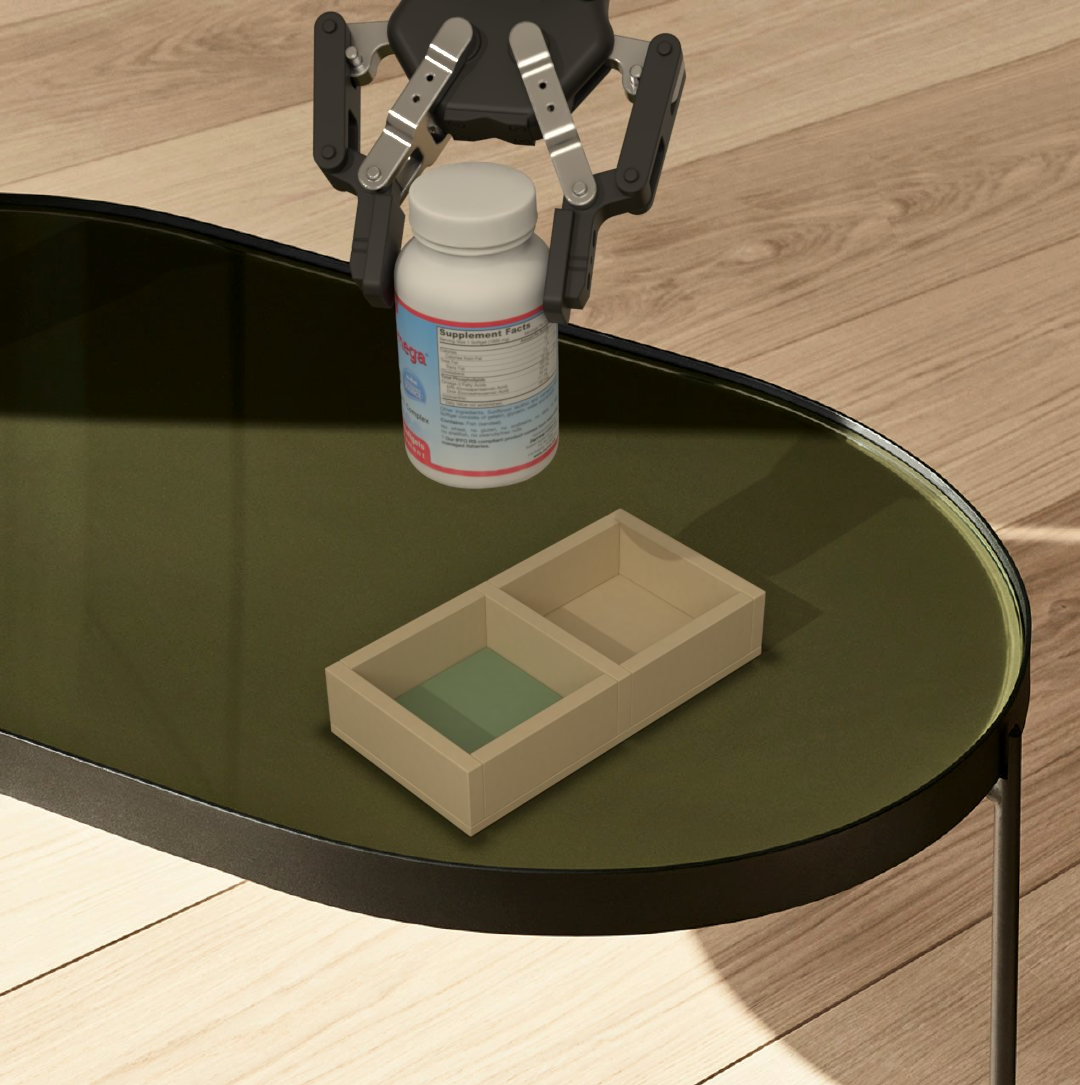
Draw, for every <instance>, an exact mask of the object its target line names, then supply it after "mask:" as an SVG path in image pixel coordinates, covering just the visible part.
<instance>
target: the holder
mask: <svg viewBox="0 0 1080 1085" xmlns="http://www.w3.org/2000/svg"><path fill="white" fill-rule="evenodd" d="M766 596H767V595H766V591H765V590H764V589H762V588H760V587H758V586H757V585H755V584H753V583H751V582H750V581H748V580H746V579H745V578H743V577H741V576H740V575H738V574H736V573H734V572H733V571H731V570H728V568H725V567H723V566H722V565H720V564H719V563H716V562H715V561H713V560H711V559H710V558H708V557H706V556H704V555H703V554H701V553H699V552H698V551H696V550H695V549H692V548H691V547H689V546H687V545H685V544H683V543H682V542H680V541H678V540H677V539H675V538H673V537H671V536H670V535H668V534H666V533H665V532H663V531H661V530H659V529H658V528H656V527H654V526H652V525H651V524H648V523H647V522H645V521H643V520H641V519H640V518H638V517H637V516H635V515H633V514H631V513H630V512H629V511H626V510H624V509H623V508H618V509H616V510H614V511H612V512H611V513H609V514H608V515H605V516H602V517H601V518H599V519H598V520H596V521H594V522H592V523H590V524H588V525H586V526H585V527H582V528H581V529H579V530H577V531H575V532H574V533H572V534H570V535H568V536H566V537H565V538H563V539H561V540H559V541H557V542H555V543H553V544H552V545H550V546H548V547H546V548H544V549H542V550H540V551H538V552H537V553H535V554H532V555H531V556H529V557H528V558H526V559H523V560H522V561H520V562H518V563H516V564H514V565H512V566H511V567H509V568H507V569H506V570H503V571H502V572H500V573H498V574H496V575H493V576H492V577H491V578H489V579H487V580H485V581H483V582H481V583H480V584H477V585H476V586H474V587H472V588H470V589H468V590H466V591H464V592H463V593H461V594H459V595H457V596H455V597H453V598H451V599H449V600H448V601H446V602H444V603H442V604H440V605H438V606H437V607H435V608H433V609H432V610H429V611H428V612H426V613H424V614H422V615H420V616H418V617H416V618H415V619H413V620H411V621H409V622H406V623H405V624H404V625H401V626H400V627H398V628H396V629H394V630H392V631H391V632H389V633H386V634H385V635H384V636H382V637H380V638H378V639H376V640H374V641H372V642H370V643H369V644H366V645H365V646H363V647H362V648H359V649H357V650H356V651H354V652H352V653H349V654H348V655H347V656H345V657H343V658H341V659H339V660H338V661H336V662H334V663H332V664H331V665H329V666H326V667H325V668H324V672H325V683H326V693H327V702H328V713H329V721H330V731H331V733H332V734H334V735H335V736H337V737H338V738H339V739H340V740H341V741H343V742H344V743H346V744H347V745H349V746H350V747H351V748H352V749H354V750H355V751H356V752H358V753H359V754H360V755H362V756H363V757H364V758H365V759H367V760H368V761H369V762H371V763H372V764H374V765H375V766H376V767H378V768H379V769H380V770H381V771H383V772H384V773H385V774H386V775H387V776H389V777H391V778H392V779H393V780H395V781H396V782H397V783H398V784H400V785H401V786H403V787H405V789H407V790H408V791H410V793H412V794H413V795H415V796H416V797H417V798H419V799H420V800H421V801H423V802H424V803H425V804H427V805H428V806H429V807H430V808H432V809H433V810H434V811H436V812H437V813H438V814H440V816H442V817H443V818H445V819H446V820H448V821H449V822H450V823H452V824H453V825H454V826H455V827H457V828H458V829H459V830H461V831H462V832H464V833H465V834H466V835H468V836H469V837H473V836H475V835H476V834H477V833H479V832H481V831H482V830H484V829H485V828H487V827H489V826H490V825H492V824H493V823H495V822H496V821H498V820H500V819H501V818H503V817H505V816H507V815H508V814H509V813H511V812H513V811H514V810H516V809H517V808H519V807H520V806H522V805H525V803H527V802H529V801H530V800H532V799H533V798H535V797H536V796H538V795H539V794H541V793H543V792H544V791H546V790H548V789H549V788H551V787H552V786H555V785H556V784H557V783H558V782H560V781H561V780H564V779H565V778H566V777H568V776H570V775H572V774H573V773H574V772H576V771H578V770H580V769H581V768H583V767H584V766H585V765H588V764H589V763H591V762H592V761H593V760H595V759H596V758H598V757H600V756H601V755H603V754H604V753H607V752H608V751H610V750H611V749H613V748H614V747H616V746H618V745H619V744H620V743H622V742H624V741H625V740H626V739H628V738H630V737H632V736H633V735H635V734H637V733H639V731H641V730H643V729H644V728H646V727H648V726H649V725H651V724H652V723H654V722H655V721H657V720H658V719H660V718H661V717H663V716H665V715H667V714H668V713H670V712H671V711H673V710H674V709H676V708H677V707H680V706H681V705H682V704H684V703H685V702H687V701H689V700H690V699H692V698H693V697H695V696H696V695H699V694H701V692H703V691H705V690H706V689H708V688H709V687H711V686H713V685H714V684H716V683H717V682H719V681H720V680H722V679H724V678H725V677H727V676H729V675H730V674H732V673H733V672H735V671H736V670H738V669H740V668H741V667H743V666H744V665H746V664H747V663H749V662H751V661H753V660H754V659H755V658H757V657H759V656H760V655H761V654H762V648H763V647H762V643H763V631H764V619H765V608H766Z"/></svg>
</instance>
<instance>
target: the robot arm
mask: <svg viewBox="0 0 1080 1085" xmlns="http://www.w3.org/2000/svg"><path fill="white" fill-rule="evenodd" d="M610 2H611V1H610V0H400V1H399V3H398V4H397V5H396V7H395V9H394V10H393V11H392V13H391V15H390V16H389V19H388V20H377V21H376V20H375V21H363V22H362V21H361V22H348V23H347V22H346V20H345V18H344V16H342V14H341V13H339V12H337V11H332V10H330V11H325V12H323V13H321V14H320V15H318V17H317V18H316V20H315V21H314V24H313V80H312V82H313V84H312V85H313V91H312V92H313V94H312V95H313V99H312V100H313V101H312V158H313V161H314V163H315V164H316V165H317V167H318V168H319V170H320V172H322V174H323V175H324V177H325V178H326V180H327V181H328V183H330V185H331V187H332V188H333V189H334V190H336V191H338V192H341V193H349V194H350V195H353V196H355V197H357V205H356V212H355V220H354V227H353V234H352V241H351V247H350V248H351V250H350V255H349V261H348V262H349V263H348V267H349V271H350V275H351V278H352V280H353V282H354V283H355V284H356V285H357V287H358V289H360V290H361V291H362V295H363V297H364V299H365V300H366V301H367V302H368V303H369V305H370V306H371V307H372V308H380V309H392V308H393V306H394V304H395V290H394V268H395V263H396V260H397V257H398V255H399V253H400V251H401V250H402V245H403V237H404V230H405V222H406V214H405V212H404V210H403V208H401V206H402V204H403V203H404V201H405V200H406V198H407V197H408V196H409V189H410V186H411V184H412V183H413V182H414V180H415V179H416V178H418V177H419V176H420V175H422V174H423V173H424V171H425V170H426V169H427V168H429V167H432V166H433V165H434V164H435V163H436V161H437V160H438V158H439V157H440V156H441V154H442V152H443V151H444V149H445V148H446V146H447V144H448V143H449V142H450V140H451V138H452V140H453V141H458V142H469V143H470V142H471V143H473V142H480V141H481V142H482V141H486V140H491V139H497V140H500V141H503V142H506V143H509V144H512V145H515V146H525V147H526V146H527V147H536V142H537V141H541V140H543V141H544V143H545V146H546V148H547V149H546V150H547V151H548V154H549V157H550V159H551V163H552V165H553V168H554V171H555V174H556V176H557V179H558V182H559V185H560V187H561V190H562V193H563V195H562V202H561V208H559V207H555V208H554V212H553V219H552V221H553V222H552V226H551V233H550V234H551V236H550V241H549V257H548V265H547V273H546V280H545V288H544V296H543V312H544V314H545V316H546V318H547V320H548V322H549V323H557V324H558V325H559V324H560V325H568V324H569V323H570V319H571V311H572V310H582V311H583V310H584V308H585V307H586V305H587V303H588V302H589V299H590V297H591V292H592V290H591V289H592V280H593V274H594V267H595V258H596V250H597V244H598V243H597V242H598V237H599V236H598V235H599V231H600V228H601V227H602V226H603V224H604V223H605V222H606V221H608V220H609V219H611V218H614V217H617V216H621V215H624V214H627V213H628V214H629V215H632V216H642V215H644V214H646V213H648V212H649V211H650V210H651V208H652V207H653V205H654V202H655V199H656V195H657V192H658V191H657V190H658V187H659V183H660V179H661V175H662V172H663V167H664V164H665V161H666V160H665V159H666V156H667V153H668V149H669V145H670V141H671V137H672V134H673V129H674V125H675V121H676V118H677V115H678V110H679V107H680V102H681V99H682V95H683V92H684V87H685V84H686V80H687V72H686V71H687V70H686V63H685V58H684V53H683V49H682V43H681V42H680V39H679V38H678V37H677V36H676V35H675V34H673V33H669V32H662V33H659V34H657V35H655V36H654V37H653V38H652V39H651V40H646V39H640V38H634V37H629V36H624V35H618V34H615V32H614V29H613V26H612V24H611V21H610V19H609V11H610V10H609V9H610ZM392 55H394V56H395V58H396V60H397V62H398V64H399V65H400V67H401V69H402V71H403V73H404V74H405V76H406V79H407V80H408V82H407V83H406V85H405V86H404V88H403V90H402V91H401V93H400V94H399V96H398V97H397V99H396V100H395V102H394V103H393V105H392V106H391V108H390V110H389V111H388V114H387V116H386V120H385V126H384V128H383V131H381V134H380V135H379V136H378V138H377V139H376V141H375V143H374V144H373V146H372V147H371V148H370V149H369V152H368V153H367V155H366V154H364V153H361V134H362V133H361V132H362V131H361V130H362V129H361V128H362V127H361V126H362V122H361V120H362V119H361V118H362V117H361V116H362V87H364V86H367V85H369V84H371V83H372V82H373V81H374V80H375V78H376V77H377V74H378V68H379V65H380V63H381V62H382V61H383V60H384V59H385V58H386V57H389V56H392ZM612 70H615V71H617V72H619V73H620V74H621V84H622V88H623V92H624V96H625V98H626V100H627V101H628V102H629V103H631V104H632V106H631V110H630V114H629V118H628V121H627V126H626V130H625V134H624V137H623V142H622V144H621V148H620V152H619V156H618V159H617V165H616V167H615V168H611V169H608V170H605V171H601V172H595V173H593V171H592V168H591V166H590V163H589V161H588V158H587V155H586V153H585V152H586V151H585V149H584V147H583V144H582V142H581V138H580V135H579V133H578V129H577V127H576V124H575V121H574V117H573V116H572V115H573V113H574V112H575V111H576V110H577V109H578V108H579V107H580V106H581V104H582V103H583V102H584V101H585V100H586V99H587V98H588V97H589V96H590V95H591V93H592V92H593V91H595V89H596V88H597V87H598V86H599V85H600V84H601V83H602V81H603V80H604V79H605V78H606V77H607V76H608V75H609V74H610V72H612Z"/></svg>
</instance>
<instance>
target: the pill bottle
mask: <svg viewBox="0 0 1080 1085" xmlns="http://www.w3.org/2000/svg"><path fill="white" fill-rule="evenodd" d="M537 203H538V202H537V190H536V186H535V184H534V181H533V180H532V179H531V177H530V176H528V175H527V174H526V173H524V172H523V171H521V170H519V169H516V168H514V167H512V166H510V165H509V166H508V165H506V164H501V163H500V164H499V163H496V162H489V161H488V162H487V161H461V162H453V163H448V164H443V165H441V166H437V167H434V168H431V169H429V170H426V171H425V172H422V174H421V175H420V176H419V177H418V178H416V179H415V180H414V182H413V183H412V184H411V186H410V189H409V194H408V209H409V210H408V212H409V213H408V223H409V225H410V228H411V232H412V235H413V236H412V237H411V238H410V239H409V240H408V241H407V242H406V243H405V244H404V245H403V247H401V251H400V253H399V255H398V257H397V260H396V263H395V268H394V290H395V297H394V305H395V322H396V323H395V324H396V337H397V339H396V340H397V353H398V368H399V384H400V396H401V411H402V423H403V424H402V425H403V426H402V427H403V437H404V448H405V452H406V455H407V457H408V459H409V461H410V463H411V464H412V465H413V467H414V468H415V469H416V470H417V471H419V473H421V474H422V475H423V476H425V477H426V478H428V479H430V480H432V481H434V482H437V483H438V484H441V485H445V486H448V487H452V488H457V489H468V490H482V489H483V490H484V489H492V488H493V489H494V488H501V487H508V486H512V485H515V484H519V483H522V482H524V481H527V480H530V479H532V478H533V477H535V476H536V475H539V473H542V472H543V470H545V469H546V468H547V467H548V466H549V464H550V463H551V462H552V461H553V459H554V458H555V455H556V454H557V451H558V449H559V448H558V447H559V443H560V442H559V441H560V423H559V422H560V421H559V420H560V418H559V417H560V413H559V408H560V406H559V324H557V323H549V322H548V320H547V318H546V316H545V314H544V312H543V296H544V288H545V280H546V273H547V265H548V257H549V249H550V246H549V245H548V244H547V243H546V241H544V239H543V238H541V237H540V236H539V235H538V234H537V233H535V230H536V226H537V225H536V224H537V222H538V219H539V217H538V216H539V214H538V206H537V205H538V204H537Z"/></svg>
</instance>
